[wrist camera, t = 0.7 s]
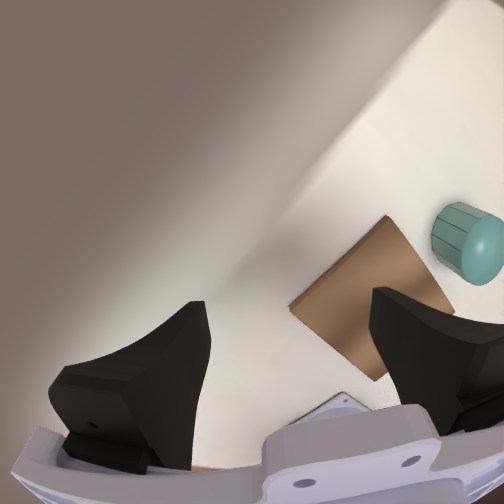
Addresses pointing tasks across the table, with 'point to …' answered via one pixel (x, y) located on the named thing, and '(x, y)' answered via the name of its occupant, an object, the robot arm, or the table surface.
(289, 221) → the table surface
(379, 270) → the stud board
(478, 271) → the cap
